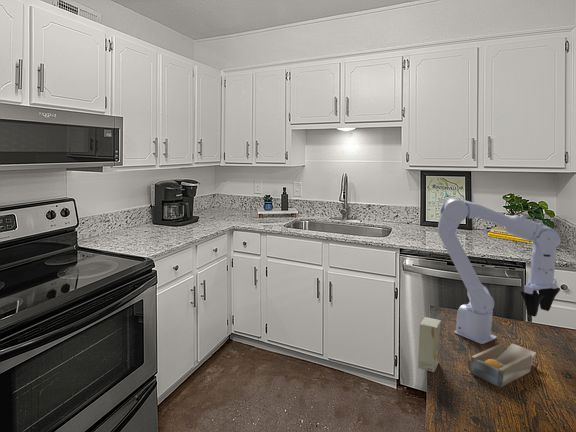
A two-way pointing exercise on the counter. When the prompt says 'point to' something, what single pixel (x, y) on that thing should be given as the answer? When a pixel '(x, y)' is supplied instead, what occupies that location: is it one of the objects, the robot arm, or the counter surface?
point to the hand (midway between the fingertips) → (538, 312)
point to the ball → (493, 363)
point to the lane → (502, 364)
